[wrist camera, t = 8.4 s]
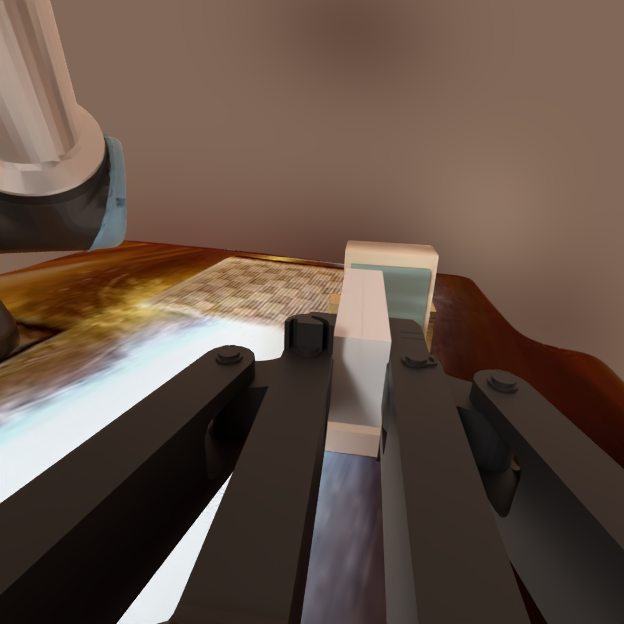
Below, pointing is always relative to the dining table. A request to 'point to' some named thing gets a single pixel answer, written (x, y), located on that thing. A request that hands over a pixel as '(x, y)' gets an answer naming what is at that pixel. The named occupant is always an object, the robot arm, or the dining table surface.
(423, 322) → the wooden tall block
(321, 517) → the dining table surface
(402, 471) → the robot arm
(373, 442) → the base
